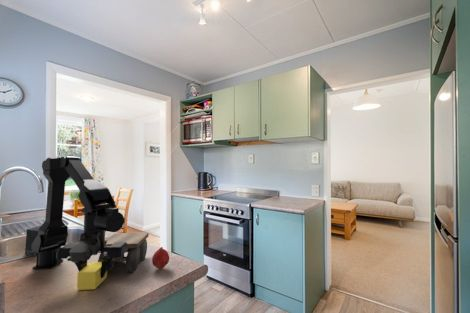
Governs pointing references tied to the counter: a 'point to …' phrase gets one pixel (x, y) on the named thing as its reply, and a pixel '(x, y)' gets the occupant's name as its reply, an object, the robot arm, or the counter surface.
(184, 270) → the counter surface
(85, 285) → the block
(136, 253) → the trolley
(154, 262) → the onion
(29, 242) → the small box
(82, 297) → the counter surface
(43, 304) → the counter surface
